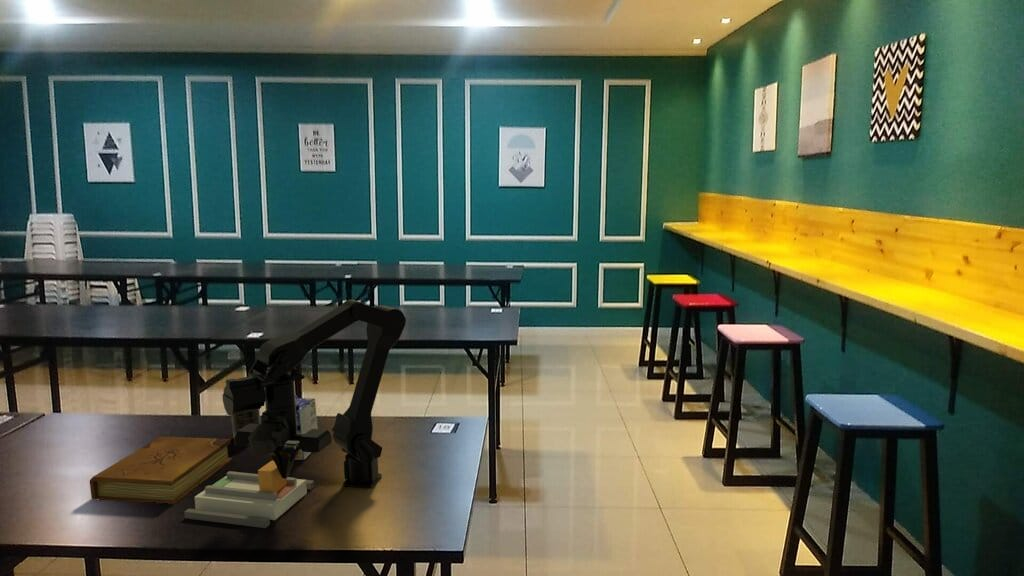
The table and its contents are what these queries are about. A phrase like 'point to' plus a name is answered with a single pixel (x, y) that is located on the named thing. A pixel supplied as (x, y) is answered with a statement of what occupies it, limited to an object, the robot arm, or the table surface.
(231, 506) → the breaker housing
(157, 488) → the diary
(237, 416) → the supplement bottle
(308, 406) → the ink cartridge box
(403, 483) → the table surface
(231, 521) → the grey base plate
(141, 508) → the table surface
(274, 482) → the handle
